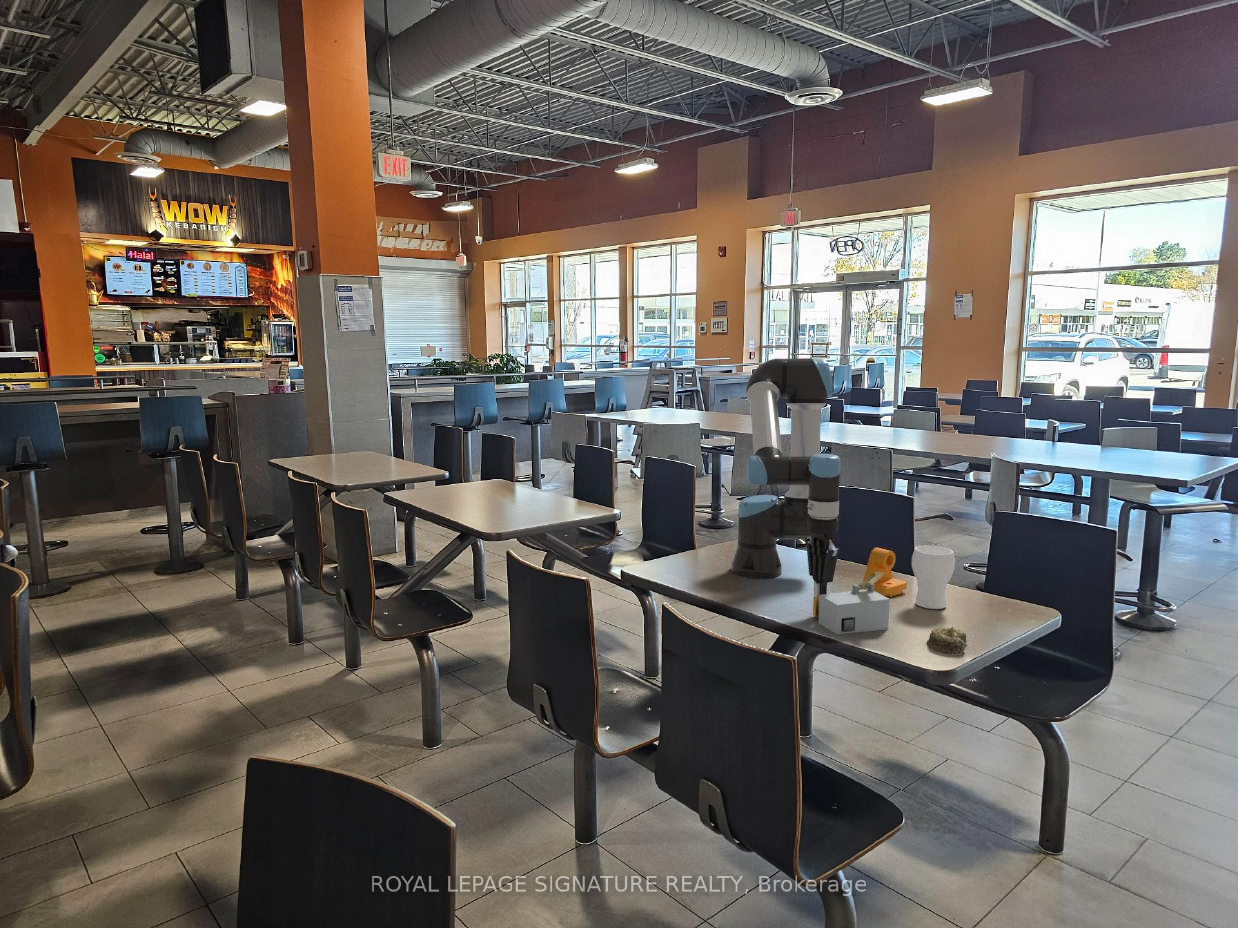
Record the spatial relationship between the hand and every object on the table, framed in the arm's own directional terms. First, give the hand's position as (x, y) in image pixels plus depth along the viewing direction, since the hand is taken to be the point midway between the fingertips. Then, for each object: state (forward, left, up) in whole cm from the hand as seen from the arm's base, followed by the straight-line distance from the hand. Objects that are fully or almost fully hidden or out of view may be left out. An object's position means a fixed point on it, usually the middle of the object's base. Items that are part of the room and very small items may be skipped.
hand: (819, 605), depth 201 cm
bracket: (-13, +28, -3) cm, 31 cm away
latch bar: (+6, +8, +6) cm, 12 cm away
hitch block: (+9, +4, -3) cm, 10 cm away
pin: (+1, 0, -3) cm, 3 cm away
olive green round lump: (+27, +18, -4) cm, 32 cm away
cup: (0, +33, -3) cm, 34 cm away
